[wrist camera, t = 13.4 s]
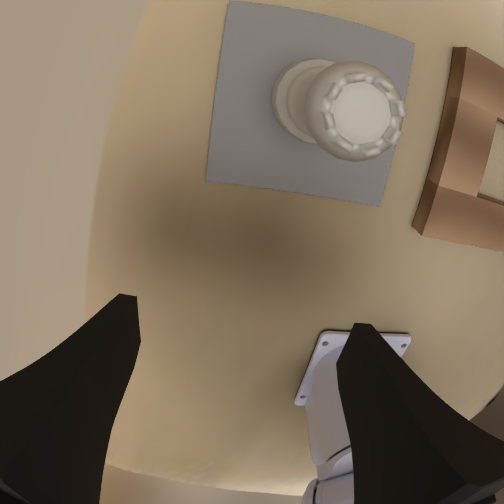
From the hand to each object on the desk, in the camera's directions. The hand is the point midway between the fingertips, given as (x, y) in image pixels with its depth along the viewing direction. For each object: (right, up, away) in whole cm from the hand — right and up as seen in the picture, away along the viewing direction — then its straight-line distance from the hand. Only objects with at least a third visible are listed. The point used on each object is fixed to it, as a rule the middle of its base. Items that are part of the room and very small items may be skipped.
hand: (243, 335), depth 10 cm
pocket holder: (+17, +9, +6) cm, 20 cm away
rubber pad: (+3, +11, +5) cm, 12 cm away
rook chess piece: (+3, +11, +5) cm, 12 cm away
